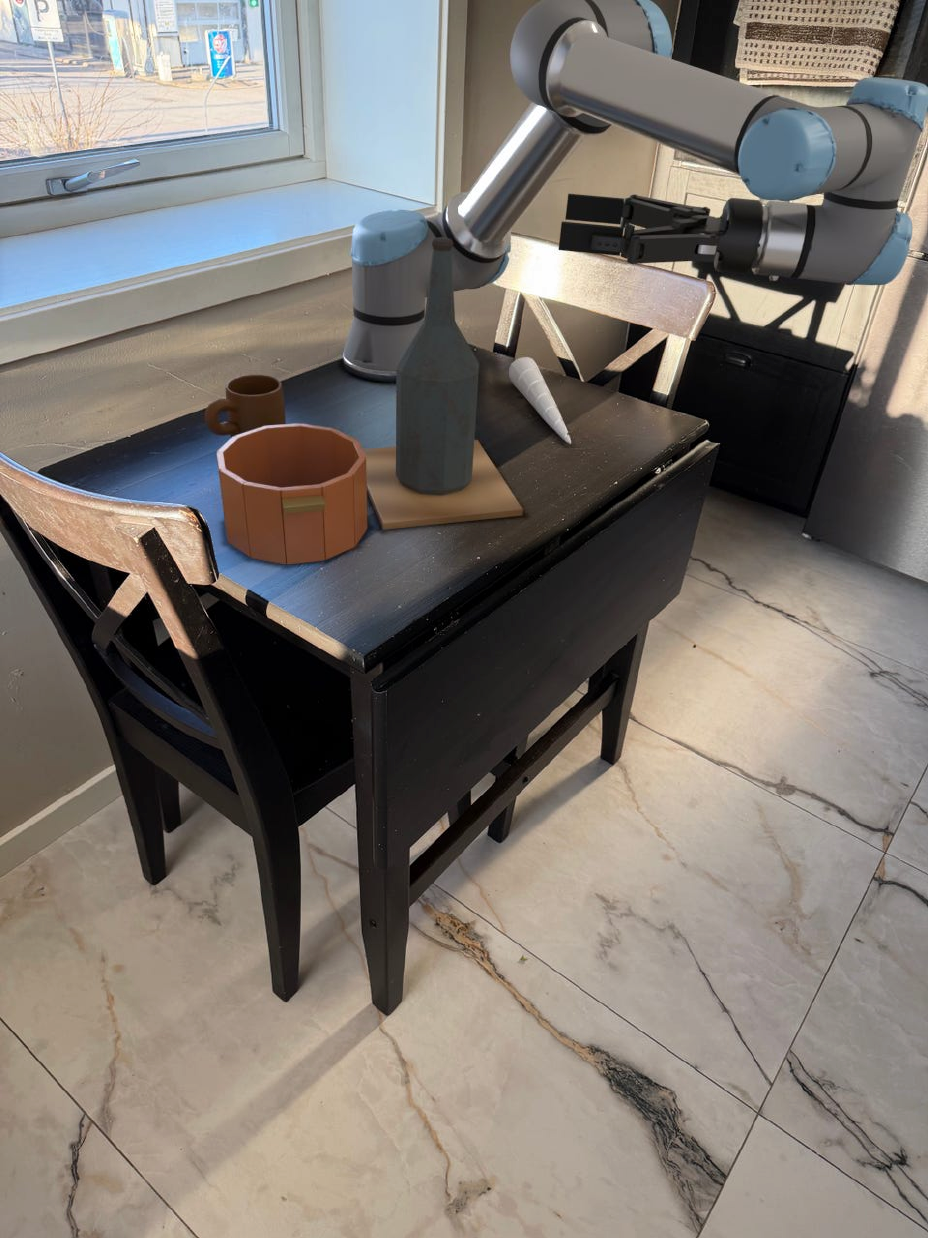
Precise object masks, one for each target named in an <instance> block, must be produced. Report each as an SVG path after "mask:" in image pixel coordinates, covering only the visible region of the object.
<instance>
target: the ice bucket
mask: <svg viewBox="0 0 928 1238" xmlns="http://www.w3.org/2000/svg"><path fill="white" fill-rule="evenodd" d="M363 449H364V448H363V447H362V444H361V442H360V440H358V439H356V438H355V437H352V436H350V435H348V434H346V433H344V432H342V431H340V430H338V429H337V428H335V427H328V426H321V425H315V424H308V423H299V422H298V423H286V424H282V425H268V426H263V427H260V428H257V429H254V430H251V431H248V432H245V433H242V434H239V435H236V436H234V437H232V438H230V439H228V440H227V442H225V443H224V444H223V445H222V446H221V447H220V448H219V449H218V450H217V451H216V452H215V456H216V461H217V463H216V464H217V470H218V471H217V472H218V479H219V487H220V494H221V502H222V511H223V518H224V526H225V533H226V540H227V542H228V544H229V545H231V546H232V547H234V548H235V549H237V550H238V551H240V552H241V553H242V554H243V555H245V556H247V557H248V558H251V559H253V560H254V559H255V560H259V561H264V562H269V563H270V562H271V563H275V564H281V565H287V566H288V565H297V564H307V563H315V562H324V561H328V560H330V559H332V558H334V557H336V556H338V555H340V554H342V553H344V552H346V551H349V550H352V549H354V548H355V547H356V546H357V545H358V544H359V542H360V541H361V539H362V537H363V536H364V534H365V533H366V531H367V530H368V492H367V472H366V456H365V453H364V451H363Z"/></svg>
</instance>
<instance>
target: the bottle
mask: <svg viewBox="0 0 928 1238" xmlns="http://www.w3.org/2000/svg"><path fill="white" fill-rule="evenodd" d="M452 245H453V241H452V240H451V239H449V238H444V237H438V238H434V239H433V241H432V247H433V254H432V263H431V271H430V279H429V287H428V295H427V297H426V302H425V319H424V321H423V323H422V324H421V326H420V327H419V329H418V331H417V332H416V334H415V335H414V337H413V338H412V340H411V341H410V343H409V344H408V346H407V347H406V349H405V351H404V352H403V354H402V355H401V357H400V359H399V362H398V365H397V368H396V383H395V384H396V385H395V391H396V392H395V394H396V395H395V447H396V476H397V478H398V479H399V481H400V482H401V483H402V485H403V486H405V487H407V488H409V489H411V490H413V491H415V492H418V493H420V494H431V495H446V494H449V493H453V492H457V491H461V490H463V489H464V488H465V487H467V486H468V484H469V483H470V482H471V478H472V470H473V454H474V440H475V436H476V419H477V404H478V403H477V402H478V388H479V387H478V386H479V372H480V371H479V370H480V362H479V361H478V359H477V357H476V355H475V354H474V352H473V350H472V348H471V347H470V345H469V343H468V341H467V339H466V338H465V336H464V334H463V332H462V331H461V329H460V327H459V325H458V324H457V323H458V322H457V321H456V311H455V294H454V291H453V272H452V254H451V248H452Z"/></svg>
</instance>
